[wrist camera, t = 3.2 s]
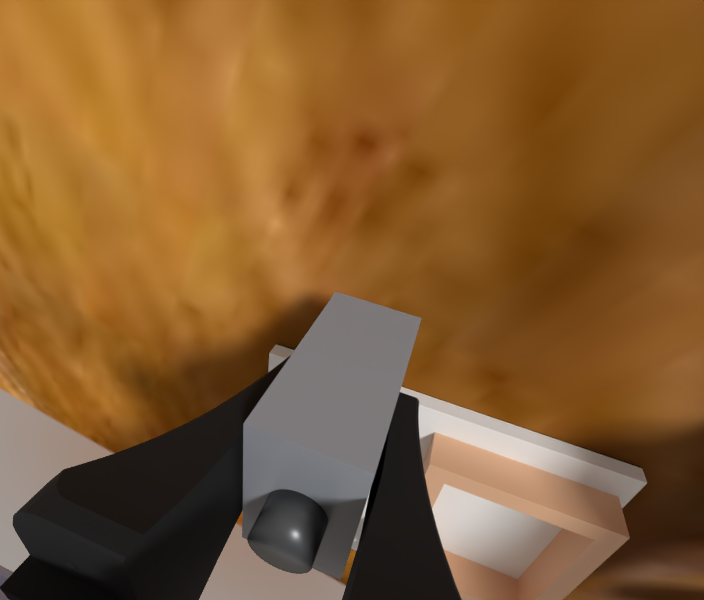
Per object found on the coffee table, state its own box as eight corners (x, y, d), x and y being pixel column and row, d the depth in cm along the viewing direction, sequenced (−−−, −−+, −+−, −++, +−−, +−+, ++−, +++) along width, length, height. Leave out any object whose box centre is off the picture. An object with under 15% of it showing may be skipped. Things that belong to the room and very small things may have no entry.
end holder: (618, 496, 19) (630, 538, 17) (527, 592, 25) (529, 629, 24) (435, 431, 21) (429, 464, 19) (390, 537, 27) (383, 568, 25)
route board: (642, 468, 19) (670, 549, 16) (514, 604, 28) (516, 672, 25) (276, 344, 22) (239, 390, 19) (265, 501, 31) (239, 550, 28)
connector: (421, 318, 13) (361, 520, 7) (389, 418, 16) (327, 622, 10) (335, 291, 14) (216, 461, 8) (319, 393, 16) (222, 573, 11)
